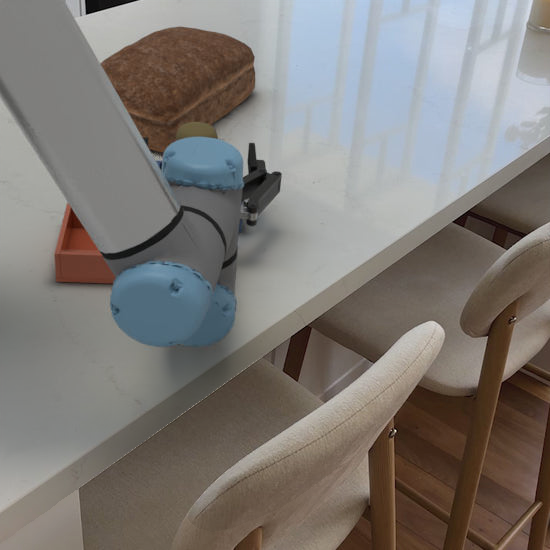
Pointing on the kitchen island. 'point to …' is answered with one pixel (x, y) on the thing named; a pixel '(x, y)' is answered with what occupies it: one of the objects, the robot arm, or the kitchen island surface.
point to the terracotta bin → (79, 254)
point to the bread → (180, 80)
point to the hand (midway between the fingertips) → (198, 149)
